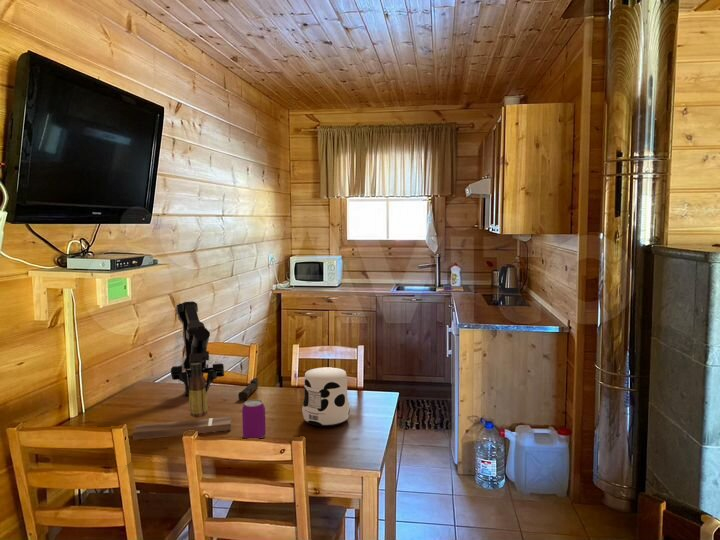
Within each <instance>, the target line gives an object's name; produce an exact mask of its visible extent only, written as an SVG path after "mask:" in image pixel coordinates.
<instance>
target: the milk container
mask: <svg viewBox="0 0 720 540" xmlns="http://www.w3.org/2000/svg"><path fill="white" fill-rule="evenodd" d="M347 375H348V374H347V371H346V370H344V369H343V368H339V367H325V366H324V367H316V368H311V369H309V370H307V371H306V372H305V373H304V385H303V387H304V399H303V404H302V409H301V410H302V417H303V419H304V421H306V422H307V424H310V425H312V426H315V427H316V426H317V427H334V426H337V425H341V424H343V423H344V422H346V421H347V420H348V419H349V416H350V412H351V411H350V410H351V407H350V402H349V397H348V376H347Z"/></svg>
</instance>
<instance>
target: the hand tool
mask: <svg viewBox="0 0 720 540" xmlns="http://www.w3.org/2000/svg"><path fill="white" fill-rule="evenodd" d="M258 387H259V378H258V377H254V378H252V379H251V380H250V382H249V384H248V385H247V386H246V387H245V388H244V389H243V390H242V391H239V392H238V395H237V396H238V397H237V398H238V400H239V401H248V398H249V397H250V395H251V394H253V392H255V391H257V390H258ZM254 390H255V391H254Z"/></svg>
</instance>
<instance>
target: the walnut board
mask: <svg viewBox="0 0 720 540" xmlns="http://www.w3.org/2000/svg"><path fill="white" fill-rule="evenodd" d="M188 430H195V431H198V433H203V434H206V433H205V432H213V431H224V432H227V431H226V430H231V431H232V416H225V417H224V416H223V417H209V418H203V419H202V418H201V419H190V420H179V421H178V420H177V421H168V422H154V423H146V424H145V423H144V424H136V425H135V427H134V430H133V432H132V440H133V441H136V440H146V439H147V440H148V439H158V438H168V437H179V436H184V435H183V433H184V432H185V431H188Z"/></svg>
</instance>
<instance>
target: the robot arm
mask: <svg viewBox="0 0 720 540" xmlns="http://www.w3.org/2000/svg"><path fill="white" fill-rule="evenodd" d="M198 306H199V305H198V303H197V302H196V301H194V300H191V301H184V302H182V303H178V304H176V306H175V314H176V315H177V318H178V320H179V322H180V323H181V324H182V333H183V345H184V355H185V356H184V357H185V358H184V361H183V362H182V365H176V366H175V365H174V366H173V365H172V367H171V368H170V375H171V378H172V380H174V381H175V380H176V381H177V380H179V382H182V383H183V384H184V392H183V397H189V381H190V378H191V367H190V364H191V363H192V362H202V375H203V376H204V374H207V377H206V392H207V393H208V391H209V388H210V387H211V384H212V383H213V381H214V380H216V379H218V378H221V377H224V376H225V366H224V364H223V363H222V362H221V363H213V364H212V367H207V361H210V351H209V350H208V344H209V340H210V336H211V332H210V331H209V330H208V328H206V326H205V324H204V323H203V322H201V321H200V319H199V316H198V312H199V308H198Z"/></svg>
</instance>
